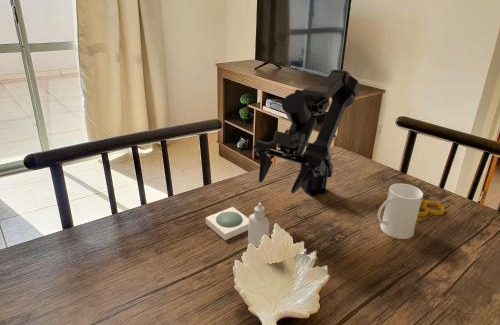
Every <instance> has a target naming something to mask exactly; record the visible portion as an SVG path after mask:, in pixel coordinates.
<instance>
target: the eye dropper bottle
mask: <svg viewBox="0 0 500 325" xmlns="http://www.w3.org/2000/svg"><path fill="white" fill-rule="evenodd" d="M253 209H254V210H253V211H254V212H253V213H251V214H250V215H249V216H248V218H249V226H248V230H247V234H248V235H247V241H248V243H249V244H250V243H252V244H253V245H254V246H256V247H258V246H259V244H260V240H261V238H262V236H263V235H264V234H265V235H267V236H268V237H269V236H270V222H269V219H268V218H267V217H266V216H265V212H266V211H265V209H266V208H265V207H264V206H262V203H261V202H259V203H258V204H257V206H255V207H254V208H253ZM269 238H270V237H269Z"/></svg>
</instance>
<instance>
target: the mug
mask: <svg viewBox="0 0 500 325" xmlns="http://www.w3.org/2000/svg"><path fill="white" fill-rule="evenodd" d="M423 197H424V193H423V191H422V190H421V189H419V188H418V187H417V186H415V185H411V184H407V183H393V184H391V185H390V186H389V189H388V194H387V197H386V200H385V201H384V202H382V203H381V205H380V207H379V209H378V211H377V220H378V221H379V222H380V229H381V231H382V232H383V234H386V235H387V236H389V237H391V238H394V239H399V240H408V239H411V238H413V236H414V234H415V227H416V222H417V221H416V220H417V216H418V212H420V209H421V208H420V205H421V201H422V199H423ZM383 209H384V211H383ZM382 211H383V216H382V217H381V213H382ZM418 217H419V216H418ZM381 218H382V219H381Z"/></svg>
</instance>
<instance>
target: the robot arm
mask: <svg viewBox="0 0 500 325" xmlns="http://www.w3.org/2000/svg"><path fill="white" fill-rule="evenodd" d="M360 90H361V86H360V83H359V81H358V79H357V78H355V77H353V76H352V75H351V74H350V72H349V71H347V70H341V69H336V68H335V69H332V70H331V71H330V74H329V75H328V76H326V77H325V78H324V79H322V81H320V82H319V83H318V84H317V85H315V86H308V87H305V88H304V89H295V91H294V92H293V93H290V94H287V95H286V96H285V97H284V98H283V99H282V102H281V107H282V110H283V112H284V113H285V115H286V117H287V119H288V121H289V122H290V126H289V129H287V128H286V130H285V131H284V132H282V131H278V130H275V133H274V135H273V140H272V144H273V145H276V147H277V148H278V149H276V148H274V147H273V145H272V144H271V143H270V142H268V141H264V140H260V139H259V140H257V141H255V142H254V144H253V146H252V149H253V151H254V152H255V154H256V155H257V156H258V159H259V175H258V182H259V183H263V181H264V180H265V178H266V176H267V174H268V172H269V171H270V169H271V166H272V164H273V161H272V160H273V159H274V157H275V158H279V159H282V160H285V161H290V162H292V163H295V164H300V171H299V173H298V175H297V177H296V179H295V181H294V183H293V185H292V188H291V191H290V192H291V194H296V192H297V191H298V190H299V189H300V188H302V189H303V190H304V191H305V192H306V193H307V194H308V195H309V196H311V197H312V196H318V195H323V194H327V193H329V190H328V189H327V188H326V187H327V182H328V178H332V176H333V172H334V171H333V170H334V165H333V163H332V161H331V160H332V155H331V151H330V147H331V145H332V144H333V140H334V138H335V135H336V132H337V131H338V127H339V125H340V122H341V120H342V117H343V115H344V113H345V110H346V108H348V107H349V106H351V105H352V104H354V102H355V100H356V97H358V96H359V93H360V92H361V91H360ZM330 99H331V102H330ZM325 111H326V115H325V116H324V120H323V122H322V124H321V127H320V129H319V132H318V134H317V137H316V139H315V140H314V141H313V142H309V140H310V138H311V135H312V133H313V131H314V128H317V125H318V123H317V118H316V116H315V115H314V114H317V115H318V114H319V115H323V114H324V113H325Z"/></svg>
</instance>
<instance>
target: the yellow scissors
mask: <svg viewBox="0 0 500 325" xmlns="http://www.w3.org/2000/svg"><path fill="white" fill-rule="evenodd" d="M428 206H432V207H436V208H439V209H440V210H435V209H432V208H430V207H428ZM420 209H422V210H423V211H422V212H421V211H419V212H418V216H417V220H416V222H421V221H422V219H421V217H423V218H424V217H426V216H428V215H429V214H430V215H435V216H442V215H445V212H446V209H445V207H444V206H443V205H442V204H440V203H438V202H434V201H431V200H428V199H424V198H422V201H421V205H420ZM419 217H420V218H419Z"/></svg>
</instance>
